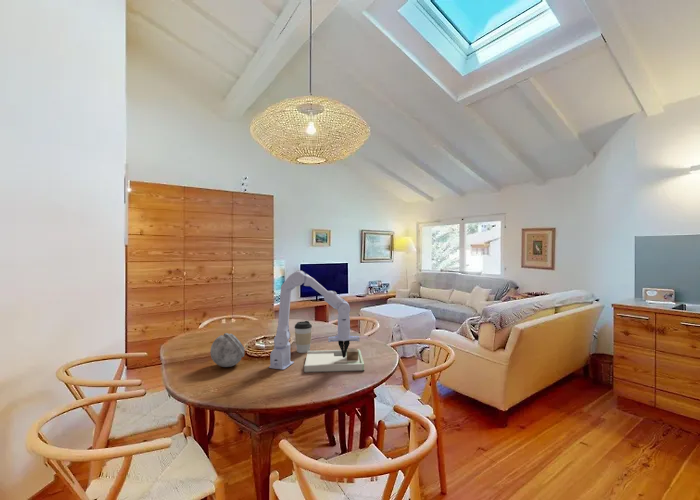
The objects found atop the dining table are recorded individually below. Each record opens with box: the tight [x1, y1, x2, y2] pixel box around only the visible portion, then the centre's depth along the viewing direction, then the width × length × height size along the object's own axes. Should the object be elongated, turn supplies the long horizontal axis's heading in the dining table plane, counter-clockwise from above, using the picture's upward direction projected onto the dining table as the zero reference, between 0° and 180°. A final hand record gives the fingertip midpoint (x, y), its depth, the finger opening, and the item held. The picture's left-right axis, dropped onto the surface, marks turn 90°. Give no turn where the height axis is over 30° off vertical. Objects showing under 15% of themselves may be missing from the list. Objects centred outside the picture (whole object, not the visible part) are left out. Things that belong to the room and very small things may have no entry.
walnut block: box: [347, 347, 359, 361], centre depth 149 cm, size 5×5×4 cm
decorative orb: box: [210, 332, 246, 368], centre depth 146 cm, size 15×14×15 cm
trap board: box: [303, 349, 365, 374], centre depth 149 cm, size 26×20×3 cm
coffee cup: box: [293, 320, 313, 354], centre depth 167 cm, size 9×9×15 cm
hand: (343, 356), depth 149 cm, fingers closed
